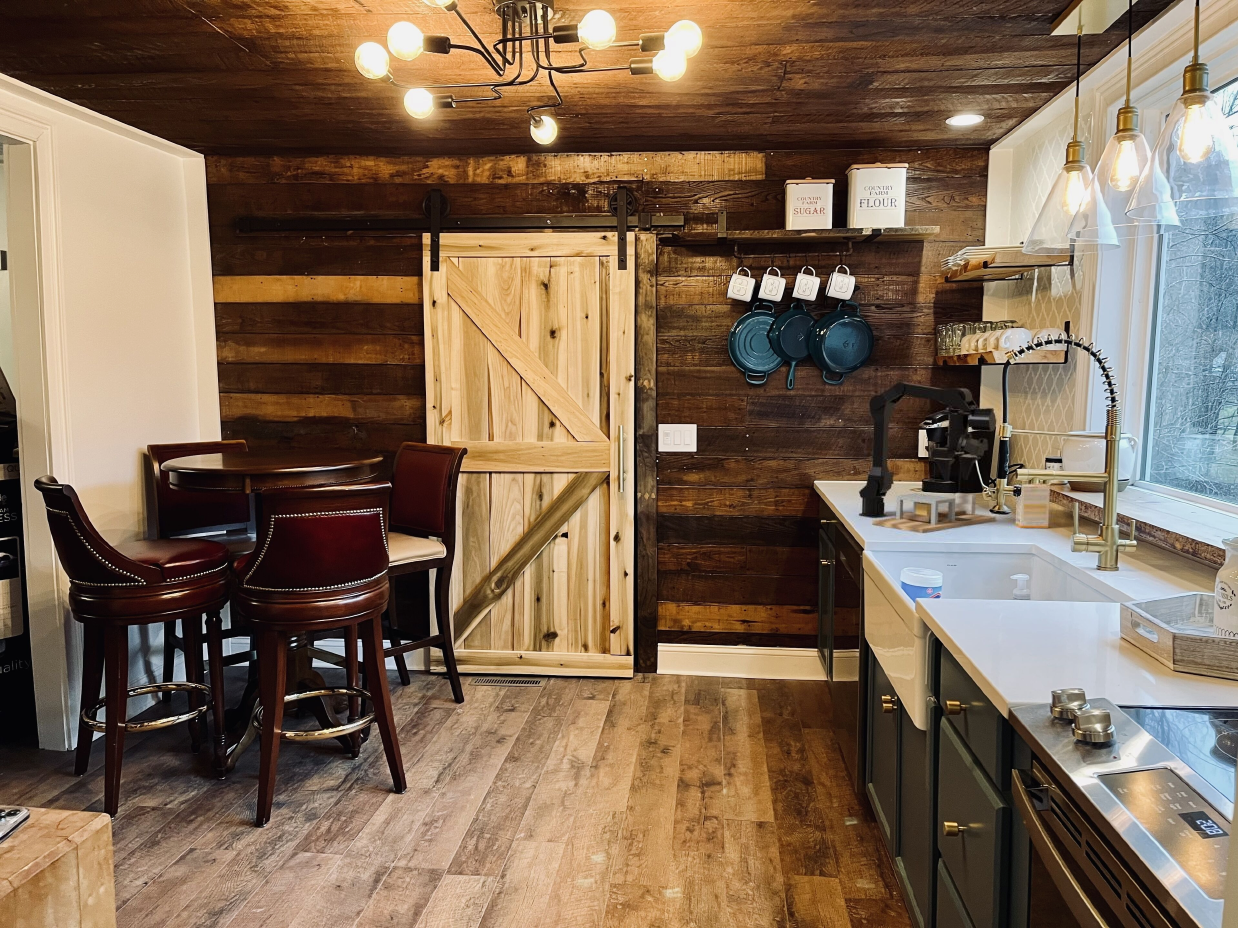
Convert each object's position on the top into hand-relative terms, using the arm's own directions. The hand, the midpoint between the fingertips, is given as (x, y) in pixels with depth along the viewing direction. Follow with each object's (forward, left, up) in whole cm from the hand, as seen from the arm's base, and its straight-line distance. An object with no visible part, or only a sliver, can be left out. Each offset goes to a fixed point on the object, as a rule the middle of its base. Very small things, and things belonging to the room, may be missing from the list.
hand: (956, 480), depth 266 cm
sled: (-7, +3, -12) cm, 14 cm away
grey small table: (-7, -6, -14) cm, 16 cm away
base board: (-7, -1, -14) cm, 15 cm away
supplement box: (+15, +16, -14) cm, 27 cm away
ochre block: (-7, -6, -11) cm, 14 cm away
